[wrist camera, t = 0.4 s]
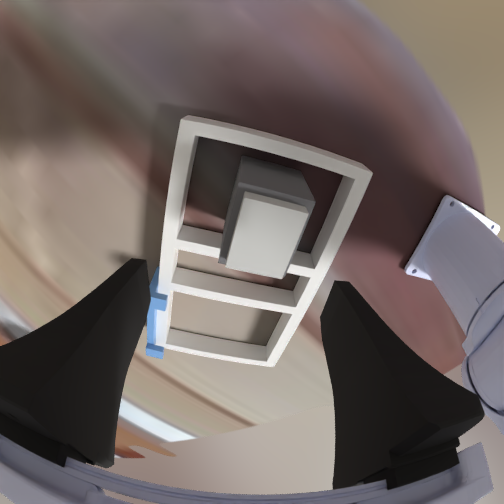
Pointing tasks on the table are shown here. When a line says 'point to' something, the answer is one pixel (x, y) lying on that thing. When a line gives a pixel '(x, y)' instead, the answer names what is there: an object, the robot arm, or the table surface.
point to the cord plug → (265, 218)
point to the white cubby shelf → (209, 244)
